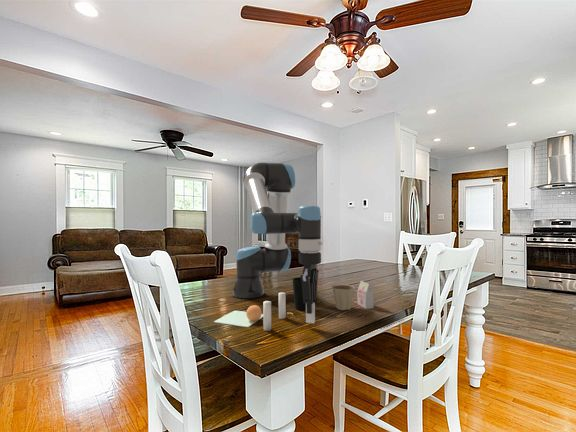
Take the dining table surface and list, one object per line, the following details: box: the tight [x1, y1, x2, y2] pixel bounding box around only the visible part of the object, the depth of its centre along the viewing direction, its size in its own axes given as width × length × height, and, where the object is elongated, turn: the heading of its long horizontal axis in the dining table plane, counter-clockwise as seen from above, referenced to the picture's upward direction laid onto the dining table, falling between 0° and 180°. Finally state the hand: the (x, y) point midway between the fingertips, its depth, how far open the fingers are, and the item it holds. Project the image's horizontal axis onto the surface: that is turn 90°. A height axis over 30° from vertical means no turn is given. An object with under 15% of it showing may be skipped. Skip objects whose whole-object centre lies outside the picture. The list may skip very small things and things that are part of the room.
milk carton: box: [356, 280, 374, 310], centre depth 121 cm, size 4×7×10 cm, turn 17°
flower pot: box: [331, 284, 356, 311], centre depth 118 cm, size 9×9×9 cm
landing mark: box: [213, 310, 263, 328], centre depth 106 cm, size 14×14×1 cm
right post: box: [278, 291, 287, 320], centre depth 107 cm, size 3×3×9 cm
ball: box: [245, 304, 263, 322], centre depth 103 cm, size 6×6×6 cm
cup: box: [291, 276, 306, 311], centre depth 118 cm, size 8×8×12 cm
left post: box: [262, 300, 272, 332], centre depth 95 cm, size 3×3×9 cm
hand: (310, 322), depth 96 cm, fingers closed
